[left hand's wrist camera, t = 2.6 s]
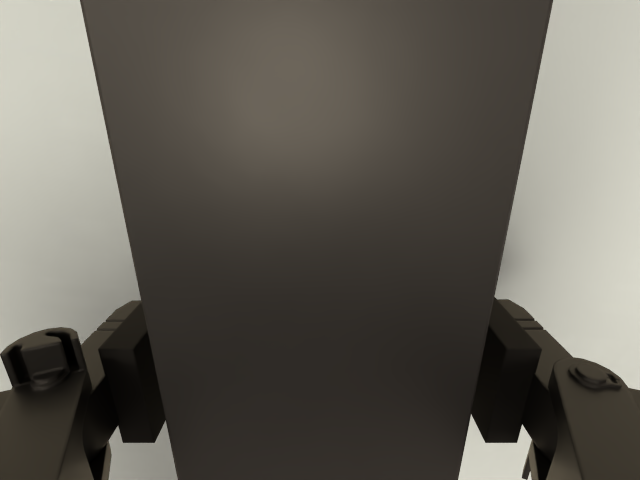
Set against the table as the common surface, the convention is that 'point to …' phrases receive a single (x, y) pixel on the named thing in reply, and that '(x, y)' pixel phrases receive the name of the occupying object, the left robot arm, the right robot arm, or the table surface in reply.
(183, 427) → the bar
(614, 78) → the table surface
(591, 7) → the table surface
